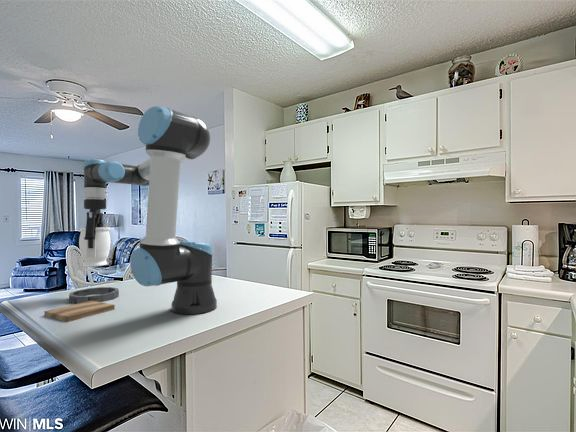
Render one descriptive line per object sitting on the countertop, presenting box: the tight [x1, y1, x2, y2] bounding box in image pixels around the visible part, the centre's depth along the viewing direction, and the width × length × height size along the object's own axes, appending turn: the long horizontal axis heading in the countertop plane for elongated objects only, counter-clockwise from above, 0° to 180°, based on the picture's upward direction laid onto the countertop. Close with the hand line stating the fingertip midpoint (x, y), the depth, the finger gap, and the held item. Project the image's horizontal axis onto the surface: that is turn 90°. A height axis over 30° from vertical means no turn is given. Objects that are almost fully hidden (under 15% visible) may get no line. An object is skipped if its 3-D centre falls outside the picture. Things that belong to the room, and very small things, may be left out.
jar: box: [78, 226, 111, 268], centre depth 125 cm, size 11×10×15 cm
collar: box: [68, 286, 120, 304], centre depth 125 cm, size 16×16×2 cm
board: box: [43, 301, 116, 323], centre depth 106 cm, size 13×15×2 cm
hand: (95, 255), depth 125 cm, fingers closed on jar, 10 cm apart
